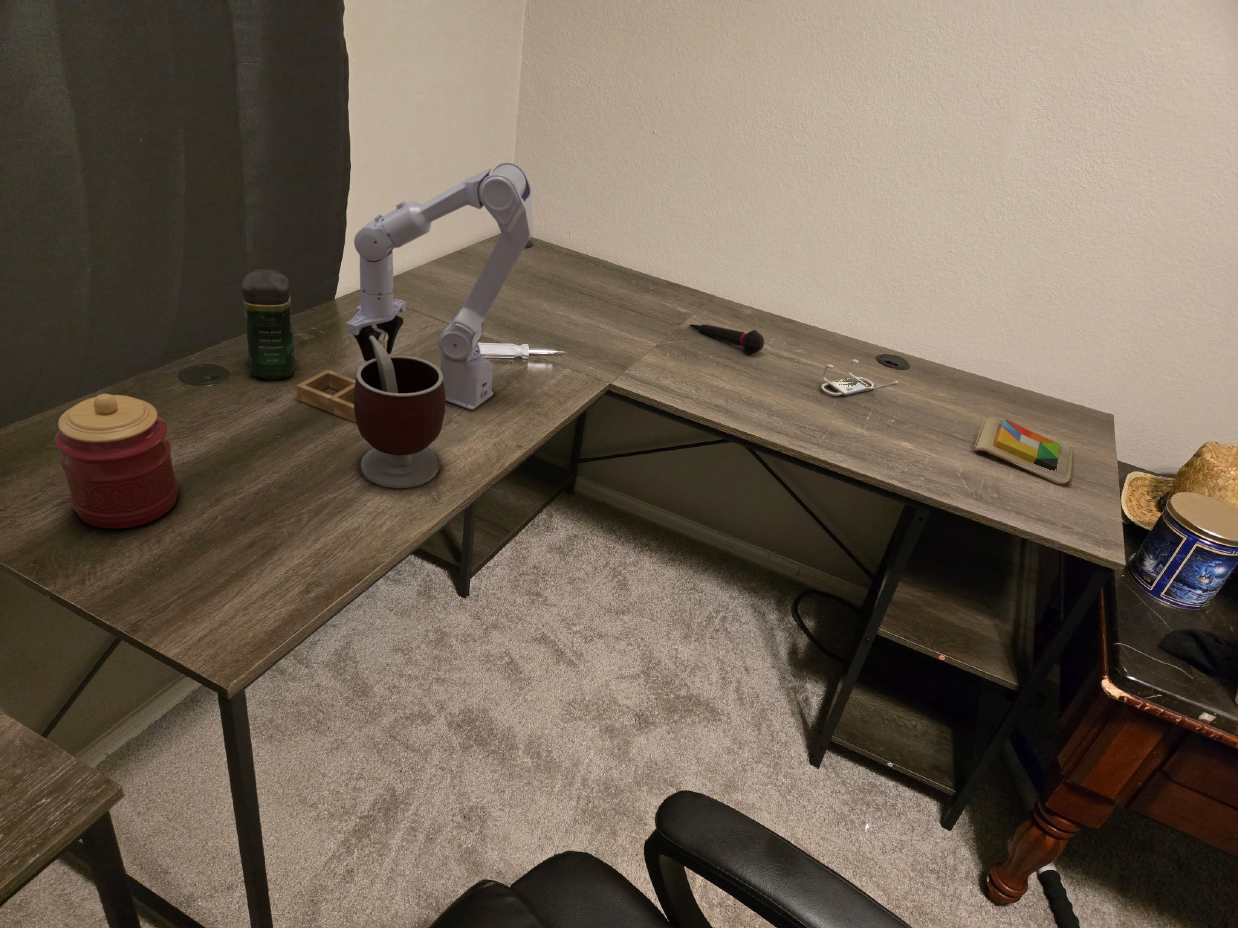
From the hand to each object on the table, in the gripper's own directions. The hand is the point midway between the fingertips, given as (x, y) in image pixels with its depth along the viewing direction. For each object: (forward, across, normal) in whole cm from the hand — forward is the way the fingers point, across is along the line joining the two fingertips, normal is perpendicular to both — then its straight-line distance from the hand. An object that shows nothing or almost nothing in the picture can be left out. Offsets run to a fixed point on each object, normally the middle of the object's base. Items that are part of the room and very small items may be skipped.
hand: (377, 356), depth 151 cm
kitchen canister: (+5, +51, -4) cm, 51 cm away
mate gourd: (+5, +21, +20) cm, 29 cm away
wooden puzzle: (+5, -59, +121) cm, 135 cm away
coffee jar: (+5, +9, -17) cm, 20 cm away
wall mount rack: (+5, -62, +84) cm, 105 cm away
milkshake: (+4, 0, 0) cm, 4 cm away
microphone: (+5, -68, +51) cm, 85 cm away
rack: (+5, +11, +2) cm, 12 cm away
